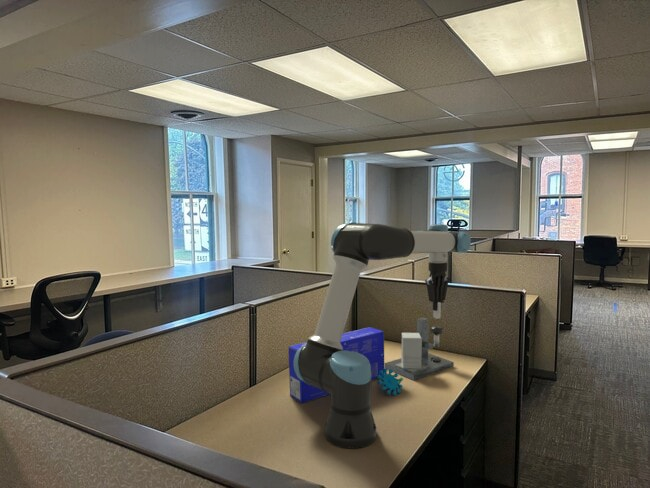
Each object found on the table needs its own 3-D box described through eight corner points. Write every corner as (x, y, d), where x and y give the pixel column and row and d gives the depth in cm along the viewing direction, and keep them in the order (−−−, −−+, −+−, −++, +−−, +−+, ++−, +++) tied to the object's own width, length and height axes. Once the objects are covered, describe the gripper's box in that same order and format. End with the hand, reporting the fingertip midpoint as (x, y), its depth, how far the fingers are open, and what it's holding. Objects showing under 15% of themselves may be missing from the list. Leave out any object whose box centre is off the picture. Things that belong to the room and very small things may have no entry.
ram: (437, 348, 176) (437, 329, 175) (427, 345, 180) (427, 327, 179) (444, 346, 179) (445, 327, 178) (435, 343, 183) (435, 325, 182)
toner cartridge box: (370, 370, 174) (370, 326, 172) (384, 377, 167) (385, 331, 165) (288, 395, 151) (287, 344, 150) (300, 404, 145) (300, 351, 143)
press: (413, 380, 164) (414, 334, 162) (384, 367, 177) (385, 325, 175) (453, 366, 178) (454, 324, 176) (424, 355, 190) (424, 316, 189)
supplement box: (419, 362, 176) (419, 332, 175) (421, 369, 169) (422, 338, 167) (401, 361, 177) (401, 332, 175) (402, 368, 169) (402, 337, 168)
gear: (385, 395, 147) (375, 368, 154) (376, 402, 151) (367, 375, 157) (409, 392, 153) (399, 366, 159) (400, 399, 157) (391, 373, 163)
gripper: (434, 264, 169) (433, 322, 171) (455, 261, 177) (454, 317, 179) (420, 262, 175) (419, 318, 178) (441, 259, 183) (439, 313, 185)
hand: (436, 317), depth 178 cm, fingers closed
